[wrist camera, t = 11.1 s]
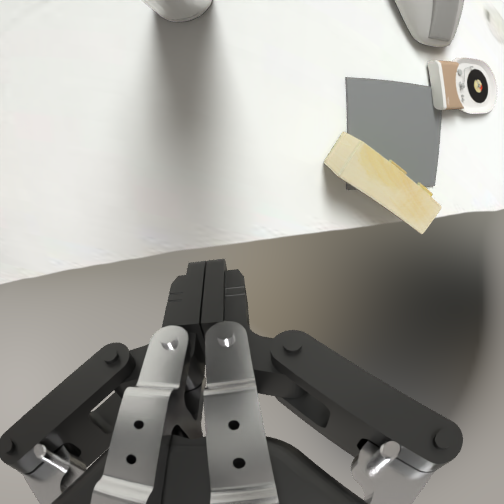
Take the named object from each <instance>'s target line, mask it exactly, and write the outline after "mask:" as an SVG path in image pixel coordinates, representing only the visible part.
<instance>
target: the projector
mask: <svg viewBox="0 0 504 504" xmlns="http://www.w3.org/2000/svg"><path fill="white" fill-rule="evenodd" d="M395 2H396V5H397V7H398V9H399V11H400V13H401V15H402V17H403V19H404V21H405V23H406V25H407V27H408V29H409V31H410V33H411V35H412V36H413V38H414V39H415V40H416V41H418V42H420V43H422V44H424V45H428V46H434V47H446V46H448V45H450V44H451V42H452V40H453V38H454V35H455V33H456V30H457V27H458V24H459V21H460V17H461V13H462V8H463V3H464V0H395Z"/></svg>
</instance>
